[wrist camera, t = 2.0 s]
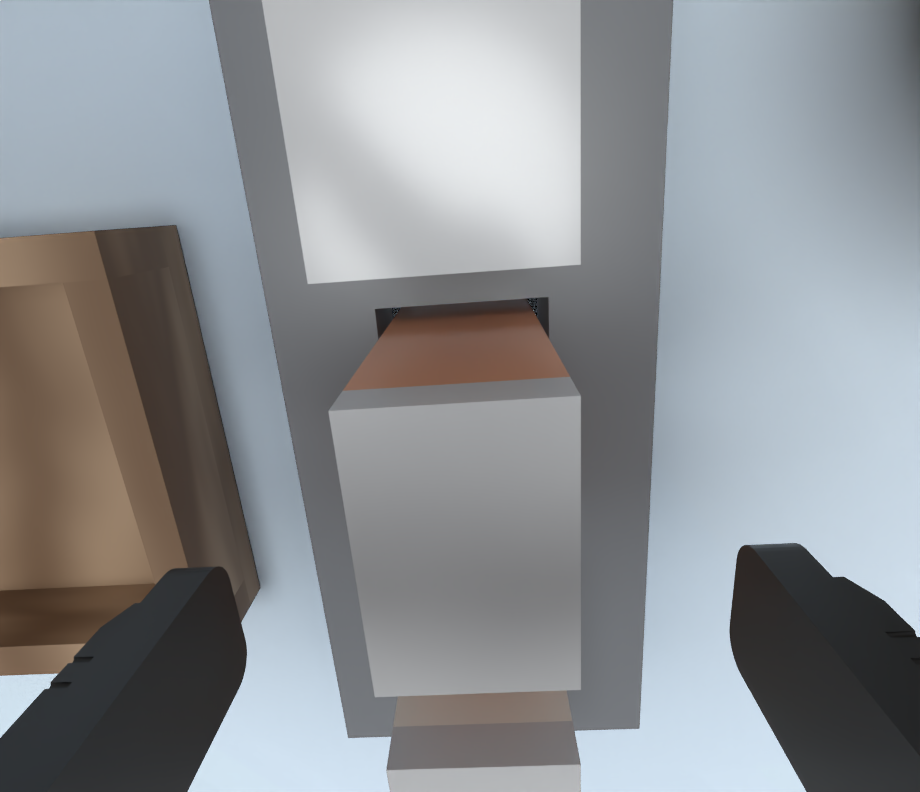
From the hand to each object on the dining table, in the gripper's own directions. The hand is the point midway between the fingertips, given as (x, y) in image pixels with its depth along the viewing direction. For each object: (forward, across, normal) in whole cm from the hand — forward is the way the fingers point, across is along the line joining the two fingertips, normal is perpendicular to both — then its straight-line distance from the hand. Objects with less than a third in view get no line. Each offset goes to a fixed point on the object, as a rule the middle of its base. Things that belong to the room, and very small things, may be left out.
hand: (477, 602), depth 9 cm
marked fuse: (+11, 0, 0) cm, 11 cm away
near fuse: (+11, 0, -8) cm, 14 cm away
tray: (+11, +16, +1) cm, 20 cm away
